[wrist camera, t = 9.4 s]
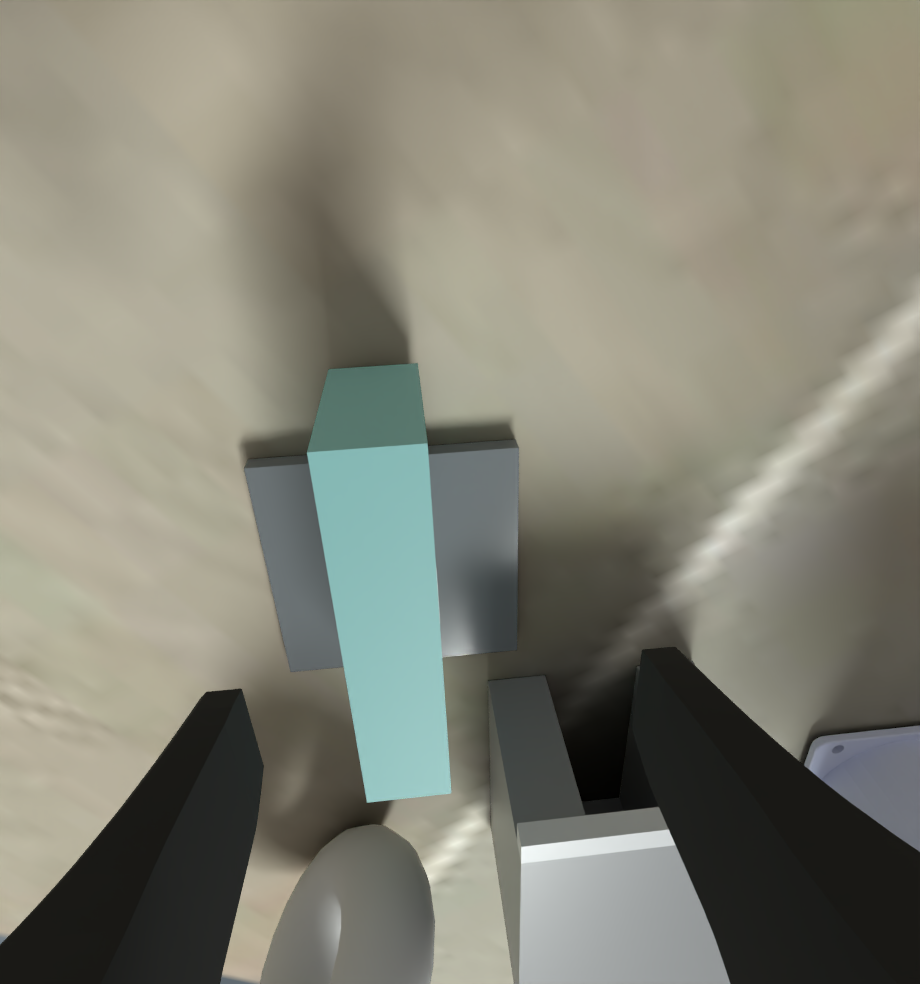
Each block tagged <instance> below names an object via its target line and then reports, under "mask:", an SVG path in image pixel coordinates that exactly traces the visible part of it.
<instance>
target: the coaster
mask: <svg viewBox="0 0 920 984" xmlns="http://www.w3.org/2000/svg"><path fill="white" fill-rule="evenodd" d="M428 456H429V471H430V485H431V500H432V515H433V529H434V544H435V559H436V569H437V583H438V598H439V613H440V632H441V647H442V657H451V656H461V655H472V654H482V653H492V652H502V651H513V650H517V602H518V489H519V447H518V444H517V442H516V440H515V439H512V440H499V441H486V442H472V443H459V444H446V445H432V446H428ZM244 471H245V475H246V479H247V484H248V488H249V493H250V497H251V501H252V506H253V510H254V514H255V519H256V523H257V527H258V532H259V536H260V541H261V545H262V549H263V554H264V558H265V562H266V567H267V571H268V575H269V580H270V584H271V589H272V593H273V597H274V602H275V606H276V610H277V615H278V619H279V623H280V628H281V632H282V637H283V641H284V645H285V650H286V654H287V658H288V663H289V667H290V671H291V672H297V671H307V670H317V669H328V668H338V667H344V666H343V660H342V654H341V648H340V642H339V637H338V631H337V625H336V619H335V613H334V608H333V602H332V596H331V590H330V584H329V578H328V573H327V567H326V561H325V555H324V549H323V543H322V538H321V532H320V526H319V520H318V514H317V508H316V503H315V497H314V491H313V485H312V479H311V474H310V468H309V462H308V456H307V455H299V456H286V457H273V458H259V459H248V461H247V463H246V465H245V467H244Z"/></svg>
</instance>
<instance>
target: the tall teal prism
mask: <svg viewBox="0 0 920 984" xmlns="http://www.w3.org/2000/svg"><path fill="white" fill-rule="evenodd" d="M307 456H308V462H309V468H310V474H311V479H312V485H313V491H314V497H315V503H316V508H317V514H318V520H319V526H320V532H321V538H322V543H323V549H324V555H325V561H326V567H327V573H328V578H329V584H330V590H331V596H332V602H333V608H334V613H335V619H336V625H337V631H338V637H339V642H340V648H341V654H342V660H343V666H344V672H345V677H346V683H347V689H348V695H349V701H350V707H351V712H352V718H353V724H354V730H355V736H356V742H357V747H358V753H359V759H360V765H361V771H362V776H363V782H364V788H365V794H366V800H367V803H369V802H378V801H387V800H396V799H405V798H414V797H423V796H432V795H441V794H450V793H451V780H450V765H449V750H448V736H447V721H446V706H445V691H444V677H443V662H442V647H441V632H440V613H439V598H438V583H437V569H436V559H435V544H434V529H433V515H432V500H431V485H430V471H429V456H428V442H427V434H426V426H425V418H424V410H423V402H422V394H421V386H420V378H419V370H418V363H415V364H399V365H384V366H369V367H354V368H339V369H328V373H327V377H326V381H325V385H324V389H323V392H322V396H321V400H320V404H319V408H318V412H317V416H316V419H315V423H314V427H313V431H312V435H311V439H310V442H309V446H308V450H307Z"/></svg>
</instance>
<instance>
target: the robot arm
mask: <svg viewBox="0 0 920 984" xmlns="http://www.w3.org/2000/svg"><path fill="white" fill-rule="evenodd" d="M632 730H633V734H634V737H635V740H636V744H637V747H638V751H639V754H640V757H641V760H642V764H643V767H644V770H645V773H646V776H647V779H648V783H649V785H650V787H651V790H652V792H653V794H654V797H655V799H656V801H657V804H658V806H659V808H660V811H661V813H662V815H663V818H664V820H665V822H666V825H667V827H668V829H669V832H670V834H671V836H672V838H673V841H674V843H675V845H676V847H677V850H678V852H679V854H680V857H681V859H682V861H683V863H684V866H685V868H686V870H687V873H688V875H689V877H690V879H691V882H692V884H693V886H694V889H695V891H696V893H697V895H698V898H699V900H700V902H701V905H702V907H703V909H704V912H705V914H706V917H707V919H708V922H709V924H710V927H711V929H712V932H713V934H714V937H715V940H716V943H717V945H718V948H719V951H720V954H721V957H722V960H723V963H724V966H725V969H726V972H727V975H728V978H729V981H730V984H920V725H918V726H909V727H900V728H891V729H882V730H873V731H864V732H855V733H846V734H836V735H827V736H821V737H818V738H816V739H815V740H814V741H813V742H812V744H811V746H810V749H809V752H808V755H807V758H806V761H805V764H804V765H803V764H802V763H800V762H799V761H798V760H797V759H796V758H795V757H793V756H792V755H791V754H790V753H789V752H788V751H786V750H785V749H784V748H783V747H782V746H781V745H779V744H778V743H777V742H776V741H775V740H774V739H773V738H772V737H771V736H769V735H768V734H767V733H766V732H765V731H764V730H763V729H762V728H760V727H759V726H758V725H757V724H756V723H755V722H754V721H753V720H752V719H750V718H749V717H748V716H747V715H746V714H745V713H744V712H743V711H742V710H741V709H740V708H739V707H737V706H736V705H735V704H734V703H733V702H732V701H731V700H730V699H729V698H728V697H727V696H726V695H725V694H724V693H723V692H722V691H721V690H720V689H718V688H717V687H716V686H715V685H714V684H713V683H712V682H711V681H710V680H709V679H708V678H707V677H706V676H705V675H704V674H703V673H702V672H701V671H700V670H699V669H698V668H697V667H696V666H695V665H694V664H693V663H692V662H691V661H690V660H689V659H687V658H686V657H685V656H684V655H683V654H682V653H681V652H680V651H679V650H678V649H677V648H676V647H666V648H656V649H645V650H642V655H641V663H640V670H639V678H638V685H637V693H636V700H635V707H634V715H633V722H632ZM263 768H264V765H263V762H262V758H261V755H260V751H259V748H258V744H257V741H256V737H255V734H254V730H253V727H252V723H251V720H250V716H249V713H248V709H247V706H246V702H245V699H244V695H243V692H242V689H233V690H223V691H212V692H206V693H205V694H204V695H203V696H202V697H201V699H200V700H199V701H198V703H197V704H196V706H195V707H194V709H193V710H192V711H191V713H190V714H189V716H188V717H187V718H186V720H185V721H184V723H183V724H182V726H181V727H180V728H179V730H178V731H177V733H176V734H175V736H174V737H173V738H172V740H171V741H170V743H169V744H168V745H167V747H166V748H165V749H164V751H163V752H162V754H161V755H160V756H159V758H158V759H157V760H156V762H155V763H154V765H153V766H152V767H151V769H150V770H149V771H148V773H147V774H146V775H145V777H144V778H143V779H142V780H141V782H140V783H139V784H138V786H137V787H136V788H135V790H134V791H133V792H132V794H131V795H130V796H129V798H128V799H127V800H126V802H125V803H124V804H123V805H122V807H121V808H120V809H119V811H118V812H117V813H116V814H115V816H114V817H113V818H112V819H111V821H110V822H109V823H108V824H107V825H106V827H105V828H104V829H103V830H102V831H101V833H100V834H99V835H98V836H97V838H96V839H95V840H94V841H93V842H92V844H91V845H90V846H89V847H88V848H87V850H86V851H85V852H84V853H83V855H82V856H81V857H80V858H79V859H78V861H77V862H76V863H75V864H74V865H73V866H72V868H71V869H70V870H69V871H68V872H67V873H66V874H65V876H64V877H63V878H62V879H61V880H60V881H59V882H58V884H57V885H56V886H55V887H54V888H53V889H52V890H51V891H50V892H49V894H48V895H47V896H46V897H45V898H44V899H43V900H42V901H41V902H40V903H39V905H38V906H37V907H36V908H35V909H34V910H33V911H32V912H31V913H30V914H29V915H28V916H27V917H26V918H25V920H24V921H23V922H22V923H21V924H20V925H19V926H18V927H17V928H16V929H15V930H14V931H13V932H12V933H11V934H10V935H9V936H8V937H7V938H6V939H5V940H4V941H3V942H2V943H1V944H0V984H220V981H221V976H222V971H223V967H224V962H225V958H226V954H227V950H228V946H229V941H230V937H231V933H232V929H233V925H234V920H235V916H236V912H237V908H238V904H239V899H240V895H241V891H242V887H243V883H244V878H245V874H246V870H247V866H248V861H249V857H250V853H251V848H252V844H253V840H254V835H255V831H256V826H257V819H258V811H259V804H260V795H261V786H262V777H263Z"/></svg>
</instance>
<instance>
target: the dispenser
mask: <svg viewBox="0 0 920 984" xmlns="http://www.w3.org/2000/svg"><path fill="white" fill-rule="evenodd" d="M691 662H692V663H693V661H691ZM693 664H694V663H693ZM694 665H695V664H694ZM639 670H640V666H637V669H636V676H635V684H634V691H633V699H632V706H631V714H630V721H629V729H628V736H627V744H626V751H625V758H624V766H623V773H622V781H621V788H620V796H619V798H612V799H603V800H594V801H585V802H582V801H581V798H580V794H579V791H578V788H577V784H576V781H575V777H574V774H573V770H572V767H571V763H570V760H569V756H568V753H567V750H566V746H565V743H564V739H563V736H562V732H561V729H560V725H559V722H558V718H557V715H556V712H555V708H554V705H553V701H552V698H551V694H550V691H549V687H548V684H547V680H546V677H545V675H542V676H532V677H522V678H512V679H502V680H492V681H488V706H489V752H490V798H491V831H492V838H493V845H494V851H495V858H496V865H497V872H498V879H499V885H500V892H501V899H502V906H503V913H504V919H505V926H506V933H507V940H508V946H509V953H510V960H511V967H512V974H513V980H514V984H730V981H729V978H728V975H727V972H726V969H725V966H724V963H723V960H722V957H721V954H720V951H719V948H718V945H717V943H716V940H715V937H714V934H713V932H712V929H711V927H710V924H709V922H708V919H707V917H706V914H705V912H704V909H703V907H702V905H701V902H700V900H699V898H698V895H697V893H696V891H695V889H694V886H693V884H692V882H691V879H690V877H689V875H688V873H687V870H686V868H685V866H684V863H683V861H682V859H681V857H680V854H679V852H678V850H677V847H676V845H675V843H674V841H673V838H672V836H671V834H670V832H669V829H668V827H667V825H666V822H665V820H664V818H663V815H662V813H661V811H660V808H659V806H658V804H657V801H656V799H655V797H654V794H653V792H652V790H651V787H650V785H649V783H648V779H647V776H646V773H645V770H644V767H643V764H642V760H641V757H640V754H639V751H638V747H637V744H636V740H635V737H634V734H633V730H632V722H633V715H634V707H635V700H636V693H637V685H638V678H639Z"/></svg>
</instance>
